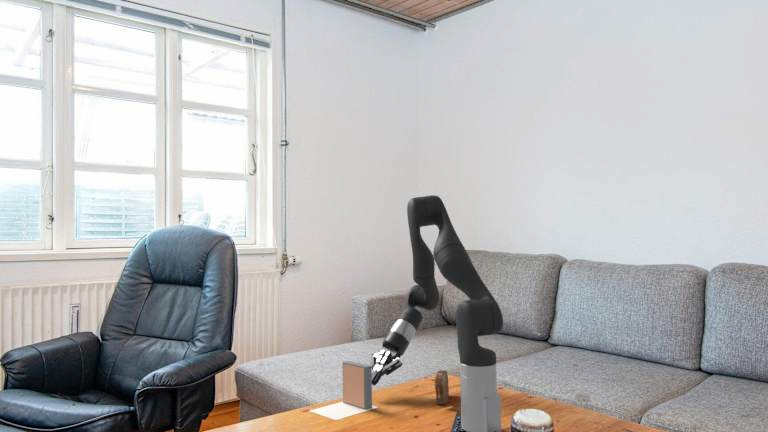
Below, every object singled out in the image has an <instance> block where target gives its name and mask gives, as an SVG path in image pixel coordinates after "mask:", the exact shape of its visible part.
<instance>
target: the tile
mask: <svg viewBox="0 0 768 432" xmlns="http://www.w3.org/2000/svg"><path fill="white" fill-rule="evenodd" d="M372 373H373V370H372V368H371V366H370V364H365V363H362V362H361V363H360V362H357V361H356V362H355V361H351V360H347V361H342V402H343V403H346V404H349V405H352V406H355V407H359V408H362V409H365V410H366V409H369V408H372V405H373V393H372V391H373V390H372V389H373V387H372V386H373V385H372Z"/></svg>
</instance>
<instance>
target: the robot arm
mask: <svg viewBox="0 0 768 432" xmlns="http://www.w3.org/2000/svg"><path fill="white" fill-rule="evenodd" d="M406 212H407V213H406V214H407V215H406V216H407V224H408V230H409V231H408V232H409V236H410V237H409V238H410V239H409V240H410V244H411V246H410V247H411V252H412V279H413V282H414V283H416V284H414V285H413V286H412V287H410V289H409V290H408V292H407V297H406V300H405V304H404V307H403V309H402V312H401V313H400V314H399V316H398V318H397V320H396V321H395V322H394V323H393V325H392V326H391V328H390V329H389V331H388V333H387V334H386V336H385V338H384V339H383V341H382V347H381V348H380V349H379V350H378V351H377V353H374V352H371V353H370V355H369V357H370V359H369V361H370V364H369V365H370V366H371V370H372V386H376V385H377V384H378V383H379V381H380V380H381V378H382V377H384V375H386V376H389V375H391V374H392V373H393V372H395V371H396V370H398V369H399V368H401V367H402V366H403V362H402V361H401V357H402V356H403V355H404V354H405V352H406V350H407V349H408V348H409V345H410V343H411V342H412V341H413V339H414V337H415V334H416V332H417V330H418V328H419V327H420V325H421V324H422V322H423V318H424V317H423V314H422V313H421V312H420V310H418V309H417V308H420V309H423V310H426V311H433V310H436V309H437V307H438V306H439V303H440V292H439V289H438V285H437V282H436V278H435V269H436V268H435V266H436V267H437V268H438V270H439V273H441V275H442V276H443V278H444V279H445V280H446V281H448V282H449V283H450V284H451V285H453V286H454V287H455V288H457V289H458V290H460V291H461V292H462V293H463V294H464V295H466V296H467V297H468V300H467V299H466V300H463V301H460V302H459V303H458V305H457V308H456V313H455V323H456V337H457V349H458V355H459V375H460V376H459V377H460V379H459V380H460V381H459V382H460V383H459V384H460V387H459V388H460V421H461V422H460V423H461V424H460V427H462V429H464V430H466V431H471V432H494V431H497V432H502V412H501V411H502V410H501V409H502V407H501V406H502V405H501V403H502V402H501V401H502V400H501V394H500V393H498V383H497V382H498V381H497V379H498V378H497V376H498V375H497V374H498V373H497V353H496V352H495V351H494V350H492V349H490V348H486V347H484V346H482V345H480V342H479V337H485V336H493V335H496V334H498V333H500V332H501V331H502V329H503V326H504V318H503V313H502V310H501V308H500V306H499V303H498V302H497V300H496V299H495V298H494V295H492V293H491V292H490V290H489V289H488V287H487V286H486V284H485V283H484V281H483V280H482V278H481V276H480V274H479V273H478V271H477V270H476V268H475V266H474V264H473V262H472V260H471V257H470V256H469V253H468V252H467V250H466V247H465V246H464V245H463V243H462V241H461V240H460V238H459V235H458V234H457V231H456V230H455V227H454V226H453V224H452V220H451V218H450V216H449V213H448V211H447V208H446V206H445V204H444V202H443V200H442V199H441V197H439V195H434V194H433V195H424V196H416V197H412V198H410V199H409V200H408V201H407V209H406ZM429 226H436V227H437V228H438V235H437V237H436V240H435V244H434V248H433V252H432V250H431V249H430V247H428V244H426V242H425V240H424V239H423V237H422V235H421V227H429ZM416 307H417V308H416Z"/></svg>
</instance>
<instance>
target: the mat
mask: <svg viewBox="0 0 768 432" xmlns="http://www.w3.org/2000/svg"><path fill="white" fill-rule="evenodd" d="M378 408H379V406H377V405H373V404H372V408H369V409H366V410H365V409H362V408H359V407H355V406H352V405H349V404H346V403H343V401H339V402H337V403H333V404H329V405H325V406H321V407H318V408H314V409H311V410H309V412H311V413H313V414H316V415H318V416H319V415H320V416H322V417H325V418H328V419H330V420H334V421H339V420H342V419H345V418H348V417H352V416H355V415H358V414H360V413H364V412H365V413H366V412H368V411H371V410H374V409H378Z"/></svg>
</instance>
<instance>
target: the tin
mask: <svg viewBox="0 0 768 432" xmlns="http://www.w3.org/2000/svg"><path fill="white" fill-rule="evenodd" d="M434 379H435V380H434V388H435V397H436V399H435V402H436V404H437V405H446V404H447V403H448V400H449V394H450V393H449V391H450V390H449V389H450V388H449V378H448V372H447V370H446V369H445V370H437V372H436V375H435V378H434Z"/></svg>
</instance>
